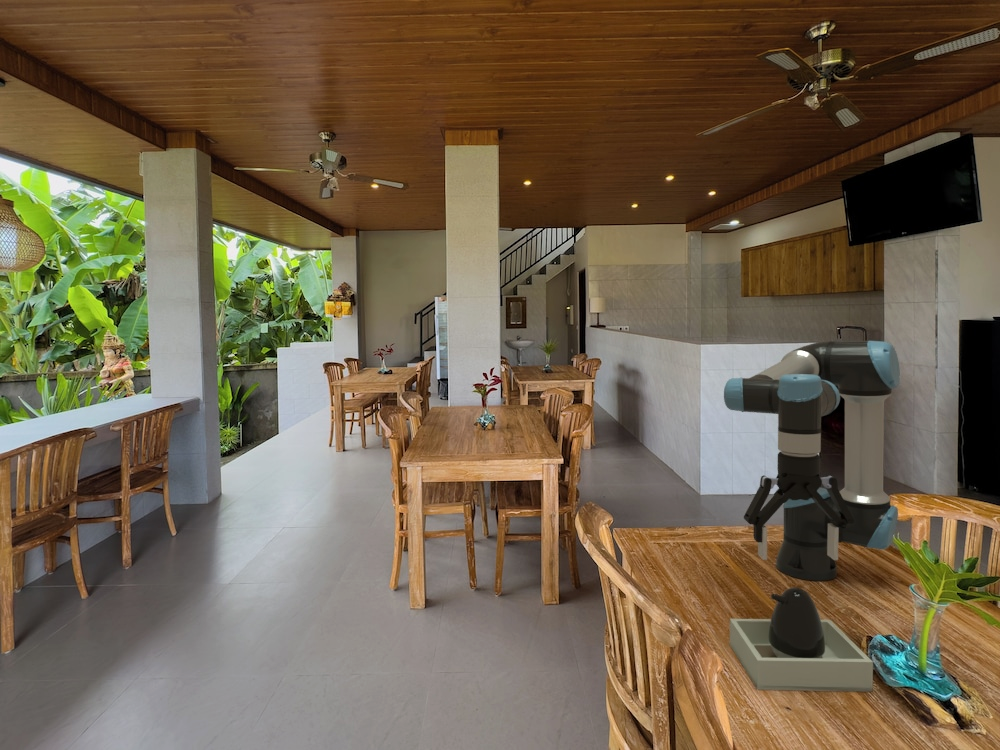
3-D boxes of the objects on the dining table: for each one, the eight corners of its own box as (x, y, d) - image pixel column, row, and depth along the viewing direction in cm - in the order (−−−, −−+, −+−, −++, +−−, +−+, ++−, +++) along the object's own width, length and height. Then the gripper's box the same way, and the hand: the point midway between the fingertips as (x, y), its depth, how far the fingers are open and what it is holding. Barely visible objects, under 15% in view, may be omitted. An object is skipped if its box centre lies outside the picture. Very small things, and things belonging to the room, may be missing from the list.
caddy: (829, 645, 124) (830, 619, 124) (872, 691, 108) (873, 662, 108) (729, 644, 126) (729, 618, 125) (757, 689, 110) (757, 660, 109)
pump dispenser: (757, 649, 122) (758, 579, 121) (804, 646, 123) (805, 576, 121) (785, 678, 112) (786, 601, 110) (836, 674, 112) (837, 598, 111)
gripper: (854, 448, 117) (851, 550, 118) (727, 449, 119) (727, 550, 120) (875, 456, 109) (873, 565, 111) (740, 457, 111) (739, 564, 113)
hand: (797, 557), depth 116 cm, fingers open, 13 cm apart
